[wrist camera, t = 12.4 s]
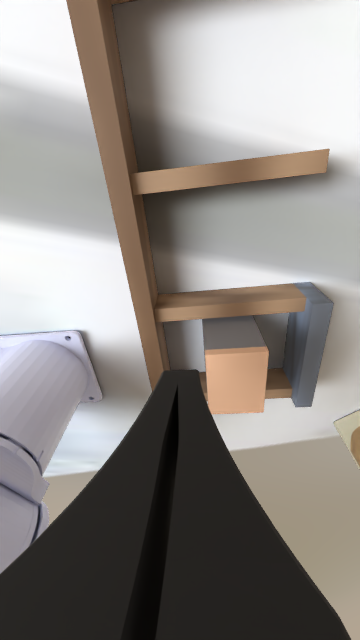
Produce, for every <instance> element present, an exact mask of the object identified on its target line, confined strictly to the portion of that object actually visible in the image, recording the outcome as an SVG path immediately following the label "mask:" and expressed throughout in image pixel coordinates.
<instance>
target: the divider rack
mask: <svg viewBox="0 0 360 640" xmlns="http://www.w3.org/2000/svg"><path fill="white" fill-rule="evenodd" d="M66 1H67V6H68V10H69V15H70V19H71V24H72V28H73V33H74V38H75V42H76V47H77V51H78V56H79V60H80V65H81V69H82V74H83V79H84V83H85V88H86V92H87V97H88V101H89V106H90V110H91V115H92V119H93V124H94V129H95V133H96V138H97V142H98V147H99V151H100V156H101V160H102V165H103V170H104V174H105V179H106V183H107V188H108V192H109V197H110V201H111V206H112V211H113V215H114V220H115V224H116V229H117V233H118V238H119V242H120V247H121V252H122V256H123V261H124V265H125V270H126V274H127V279H128V283H129V288H130V292H131V297H132V302H133V306H134V311H135V315H136V320H137V324H138V329H139V333H140V338H141V343H142V347H143V352H144V356H145V361H146V365H147V370H148V374H149V379H150V384H151V388H152V392H153V390H154V388H155V386H156V384H157V382H158V380H159V378H160V376H161V373H162V372H163V371H164V370H170V364H169V358H168V352H167V346H166V340H165V333H164V327H163V322H166V321H179V320H193V319H207V318H220V317H234V316H248V315H262V314H275V313H289V319H288V327H287V336H286V344H285V352H284V360H283V368H274V369H267V378H266V389H265V399H270V398H292V401H293V403H294V405H295V407H311V406H312V401H313V397H314V392H315V388H316V383H317V378H318V374H319V369H320V364H321V360H322V355H323V350H324V346H325V341H326V336H327V332H328V327H329V323H330V318H331V313H332V309H333V304H334V303H333V302H332V301H331V300H330V299H329V298H328V297H326V296H325V295H324V294H323V293H322V292H321V291H319V290H318V289H317V288H316V287H315V286H314V285H313V284H311V283H310V282H305V283H293V284H281V285H269V286H257V287H245V288H233V289H220V290H208V291H196V292H184V293H172V294H160V295H158V290H157V284H156V278H155V272H154V265H153V259H152V253H151V247H150V241H149V234H148V228H147V222H146V216H145V210H144V203H143V197H142V194H147V193H156V192H164V191H173V190H181V189H190V188H198V187H206V186H215V185H223V184H232V183H240V182H249V181H257V180H265V179H274V178H282V177H291V176H299V175H308V174H316V173H324V172H326V169H327V163H328V156H329V150H330V149H323V150H315V151H307V152H300V153H292V154H284V155H276V156H268V157H260V158H252V159H244V160H236V161H228V162H220V163H212V164H205V165H197V166H189V167H181V168H173V169H165V170H157V171H149V172H141V173H138V166H137V160H136V154H135V148H134V142H133V135H132V129H131V123H130V117H129V111H128V105H127V98H126V92H125V86H124V80H123V74H122V67H121V61H120V55H119V49H118V43H117V36H116V30H115V24H114V18H113V12H112V6H111V5H113V4H118V3H124V2H129V1H134V0H66ZM199 376H200V382H201V386H202V390H203V393H204V396H205V399H206V401H208V395H207V382H206V372H200V373H199Z"/></svg>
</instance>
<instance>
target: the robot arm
mask: <svg viewBox="0 0 360 640" xmlns="http://www.w3.org/2000/svg"><path fill="white" fill-rule="evenodd" d="M67 336H70V337H71V338H68V337H67ZM102 397H103V395H102V392H101V390H100V387H99V384H98V381H97V378H96V376H95V373H94V370H93V367H92V364H91V362H90V359H89V356H88V353H87V350H86V348H85V345H84V342H83V339H82V336H81V334H80V333H79V332H77V331H62V332H49V333H35V334H21V335H7V336H0V640H351V638H350V636H349V635H348V633H347V631H346V629H345V627H344V625H343V623H342V621H341V619H340V617H339V616H338V614H337V613H336V612H335V610H334V609H333V607H332V606H331V605H330V604H329V602H328V601H327V599H326V598H325V597H324V595H323V594H322V593H321V591H320V590H319V589H318V587H317V586H316V585H315V583H314V582H313V581H312V579H311V578H310V577H309V575H308V574H307V572H306V571H305V570H304V568H303V567H302V565H301V564H300V563H299V561H298V560H297V559H296V557H295V556H294V554H293V553H292V551H291V550H290V548H289V547H288V546H287V544H286V543H285V541H284V540H283V538H282V537H281V536H280V534H279V533H278V531H277V530H276V529H275V527H274V525H273V524H272V522H271V521H270V519H269V517H268V516H267V514H266V513H265V511H264V510H263V508H262V507H261V505H260V504H259V502H258V500H257V499H256V497H255V496H254V494H253V493H252V491H251V490H250V488H249V486H248V484H247V483H246V481H245V480H244V478H243V476H242V474H241V473H240V471H239V469H238V467H237V466H236V464H235V462H234V460H233V458H232V457H231V455H230V453H229V451H228V449H227V447H226V445H225V443H224V441H223V439H222V437H221V435H220V433H219V431H218V429H217V426H216V424H215V422H214V420H213V417H212V415H211V412H210V410H209V407H208V405H207V402H206V399H205V396H204V393H203V390H202V386H201V382H200V376H199V371H198V370H196V369H194V370H164V371H163V372H162V373H161V376H160V378H159V380H158V382H157V384H156V386H155V388H154V390H153V392H152V394H151V395H150V397H149V399H148V401H147V402H146V404H145V406H144V408H143V409H142V411H141V413H140V414H139V416H138V417H137V419H136V421H135V422H134V424H133V425H132V427H131V428H130V430H129V431H128V432H127V434H126V435H125V437H124V438H123V440H122V441H121V443H120V444H119V445H118V447H117V448H116V449H115V451H114V452H113V453H112V455H111V456H110V457H109V459H108V460H107V461H106V462H105V464H104V465H103V466H102V468H101V469H100V470H99V471H98V472H97V474H96V475H95V476H94V477H93V479H91V481H90V482H89V483H88V484H87V485H86V487H85V488H84V489H83V490H82V491H81V492H80V494H79V495H78V496H77V497H76V498H75V499H74V500H73V501H72V503H71V504H70V505H69V506H68V507H67V508H66V509H65V510H64V511H63V512H62V513H61V514H60V515H59V516H58V517H57V518H56V519H55V520H54V521H53V522H52V524H50V526H49V527H48V525H49V511H48V508H47V506H46V504H45V503H43V502H42V499H43V497H44V495H45V493H46V490H47V488H48V486H49V482H47V481H46V480H45V479H44V478H43V477H42V476H43V474H44V472H45V470H46V468H47V466H48V464H49V462H50V460H51V458H52V456H53V454H54V452H55V450H56V448H57V446H58V444H59V442H60V440H61V438H62V436H63V434H64V432H65V430H66V428H67V426H68V424H69V422H70V420H71V418H72V416H73V414H74V412H75V410H76V408H77V406H78V404H79V402H98V401H101V399H102Z"/></svg>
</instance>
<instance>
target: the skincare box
mask: <svg viewBox="0 0 360 640" xmlns="http://www.w3.org/2000/svg"><path fill="white" fill-rule="evenodd" d="M334 426H335V427H336V429H337V431H338V433H339V434H340V436H341V438H342V439H343V441H344V443H345V445H346V447H347V448H348V450H349V452H350V454H351V455H352V457H353V459H354V460H355V462H356V464H357V466H358V468H359V469H360V410H359V411H357V412H354V413H352V414H350V415H348V416H346V417H343V418H341V419H339V420H337V421H335V422H334Z"/></svg>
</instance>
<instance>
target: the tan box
mask: <svg viewBox="0 0 360 640" xmlns="http://www.w3.org/2000/svg"><path fill="white" fill-rule="evenodd" d="M202 323H203V339H204V355H205V369H206V382H207V395H208V407H209V410H210V412H211V414H231V413H259V412H263V411H264V400H265V389H266V378H267V368H268V357H269V351H268V348H267V346H266V344H265V342H264V339H263V337H262V335H261V333H260V331H259V328H258V326H257V324H256V322H255V319H254V317H253V315H248V316H234V317H220V318H207V319H202Z"/></svg>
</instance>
